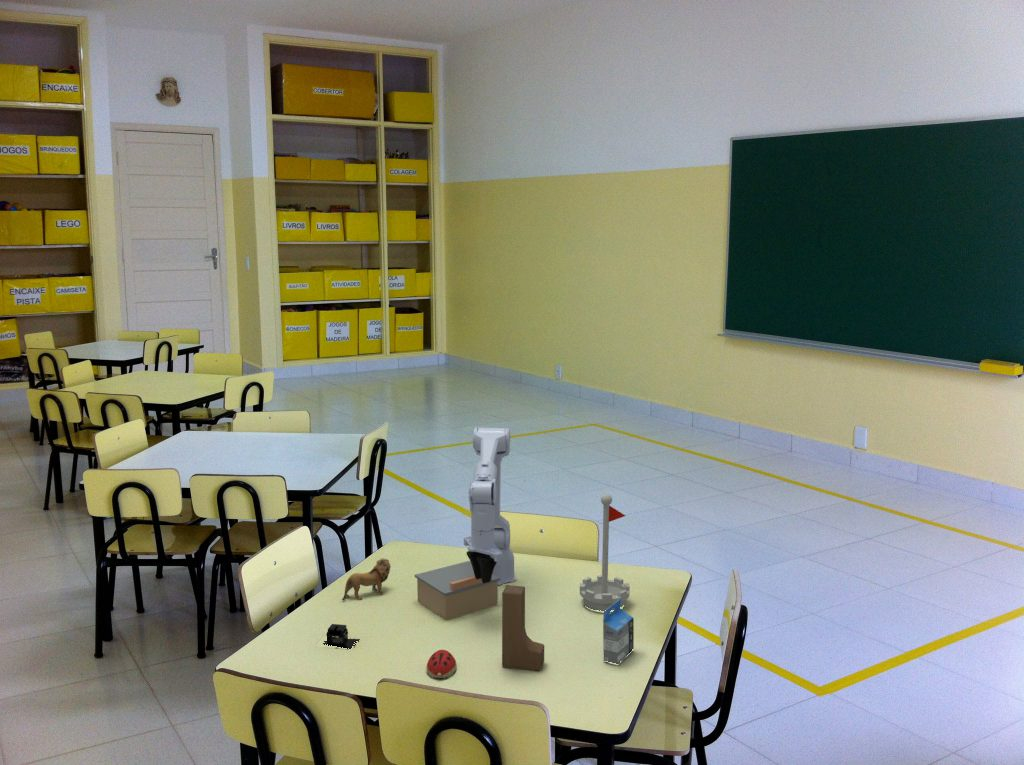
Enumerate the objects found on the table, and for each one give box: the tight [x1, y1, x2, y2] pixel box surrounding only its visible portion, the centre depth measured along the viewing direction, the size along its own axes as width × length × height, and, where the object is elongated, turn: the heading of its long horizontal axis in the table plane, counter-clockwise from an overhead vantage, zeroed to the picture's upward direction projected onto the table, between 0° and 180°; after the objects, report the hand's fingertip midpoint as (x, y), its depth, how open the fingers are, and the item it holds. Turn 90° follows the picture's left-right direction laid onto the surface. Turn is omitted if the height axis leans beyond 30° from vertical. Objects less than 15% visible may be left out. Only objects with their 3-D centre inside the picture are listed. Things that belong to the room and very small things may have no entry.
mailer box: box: [416, 578, 499, 621], centre depth 234 cm, size 16×14×6 cm
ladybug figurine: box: [426, 649, 458, 679], centre depth 199 cm, size 7×10×4 cm
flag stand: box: [579, 493, 631, 611], centre depth 232 cm, size 13×13×30 cm
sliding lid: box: [414, 560, 500, 596], centre depth 233 cm, size 17×15×2 cm
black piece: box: [323, 623, 361, 650], centre depth 212 cm, size 12×7×5 cm, turn 80°
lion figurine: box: [341, 558, 391, 601], centre depth 239 cm, size 15×5×9 cm, turn 130°
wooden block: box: [501, 584, 545, 671], centre depth 200 cm, size 9×4×18 cm, turn 78°
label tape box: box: [602, 599, 635, 665], centre depth 204 cm, size 9×4×12 cm, turn 148°
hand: (482, 580), depth 223 cm, fingers open, 2 cm apart
